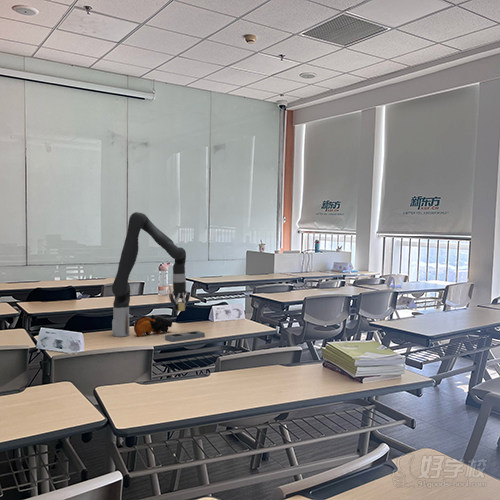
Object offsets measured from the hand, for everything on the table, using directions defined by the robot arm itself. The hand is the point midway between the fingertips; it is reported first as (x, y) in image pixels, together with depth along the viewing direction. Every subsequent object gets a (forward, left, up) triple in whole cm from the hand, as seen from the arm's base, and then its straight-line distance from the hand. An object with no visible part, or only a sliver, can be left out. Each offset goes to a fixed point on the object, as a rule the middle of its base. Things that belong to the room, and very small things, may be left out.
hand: (180, 309), depth 293 cm
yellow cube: (0, 0, 0) cm, 0 cm away
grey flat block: (0, -5, -16) cm, 17 cm away
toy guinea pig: (-9, +17, -16) cm, 25 cm away
